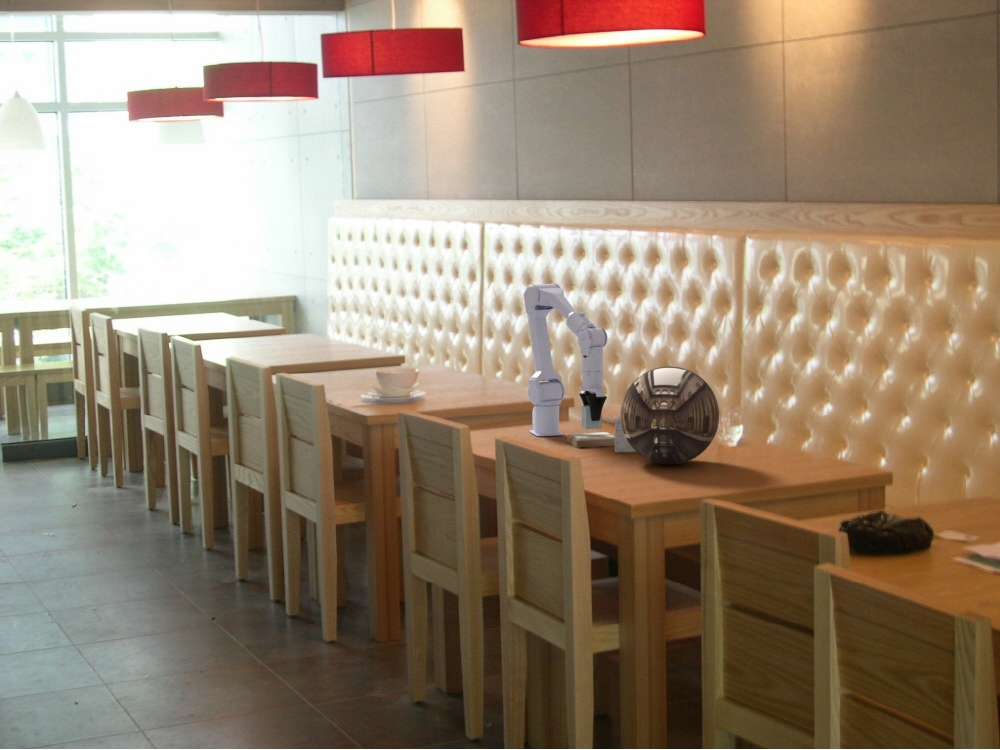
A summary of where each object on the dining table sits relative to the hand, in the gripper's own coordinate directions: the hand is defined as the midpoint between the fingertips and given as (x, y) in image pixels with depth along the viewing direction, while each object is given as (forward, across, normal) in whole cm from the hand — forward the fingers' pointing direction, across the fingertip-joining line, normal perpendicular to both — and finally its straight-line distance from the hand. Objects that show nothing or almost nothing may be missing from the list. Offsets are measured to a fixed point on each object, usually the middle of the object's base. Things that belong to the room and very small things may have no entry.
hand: (593, 419), depth 361 cm
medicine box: (+7, +14, +6) cm, 17 cm away
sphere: (+7, +34, +10) cm, 36 cm away
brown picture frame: (+7, 0, 0) cm, 7 cm away
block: (+2, 0, 0) cm, 2 cm away
